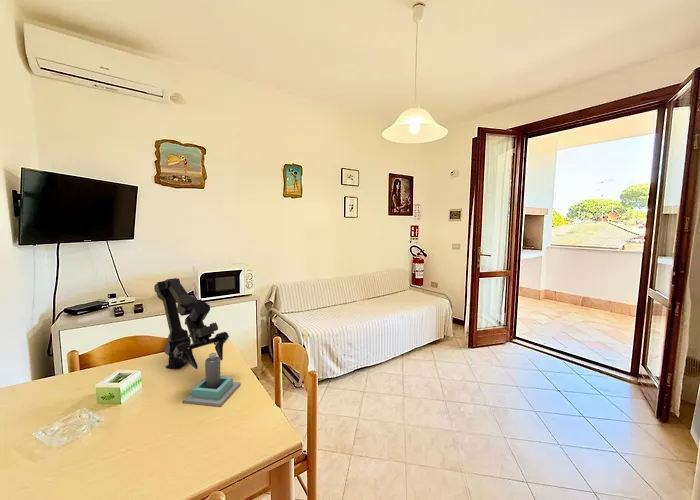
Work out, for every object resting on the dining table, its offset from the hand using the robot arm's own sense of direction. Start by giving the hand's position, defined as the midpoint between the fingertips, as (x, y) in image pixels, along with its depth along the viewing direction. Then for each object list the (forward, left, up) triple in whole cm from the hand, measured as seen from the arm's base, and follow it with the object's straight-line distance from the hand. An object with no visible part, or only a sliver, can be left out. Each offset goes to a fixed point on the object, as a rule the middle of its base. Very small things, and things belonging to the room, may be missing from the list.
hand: (209, 364), depth 108 cm
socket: (+1, +2, -10) cm, 11 cm away
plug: (+1, +2, -9) cm, 10 cm away
